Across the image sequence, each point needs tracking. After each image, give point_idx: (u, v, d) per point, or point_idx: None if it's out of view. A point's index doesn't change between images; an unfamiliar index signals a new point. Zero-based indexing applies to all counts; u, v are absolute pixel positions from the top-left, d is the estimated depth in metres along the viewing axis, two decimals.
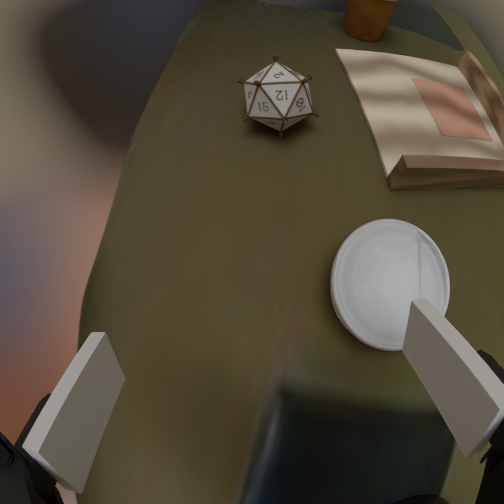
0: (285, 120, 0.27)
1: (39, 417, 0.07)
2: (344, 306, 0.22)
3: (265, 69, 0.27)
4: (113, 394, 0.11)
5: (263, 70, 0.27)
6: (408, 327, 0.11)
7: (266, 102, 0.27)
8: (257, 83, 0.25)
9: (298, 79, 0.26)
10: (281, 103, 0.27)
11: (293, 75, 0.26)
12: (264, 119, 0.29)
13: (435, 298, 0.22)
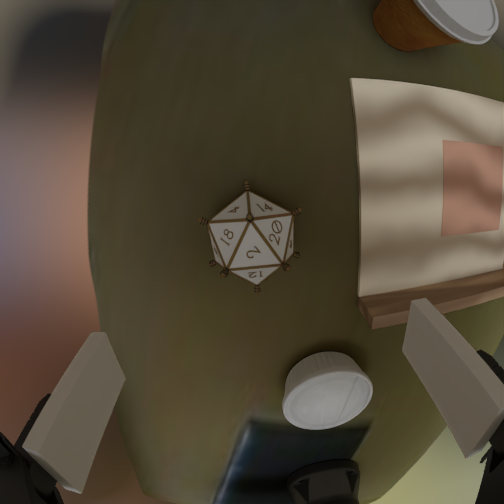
0: (258, 291, 0.26)
1: (39, 417, 0.07)
2: (289, 416, 0.32)
3: (235, 230, 0.23)
4: (113, 394, 0.11)
5: (232, 228, 0.23)
6: (408, 327, 0.11)
7: None
8: (225, 275, 0.23)
9: (278, 260, 0.23)
10: (254, 278, 0.25)
11: (272, 252, 0.23)
12: None
13: (357, 404, 0.33)
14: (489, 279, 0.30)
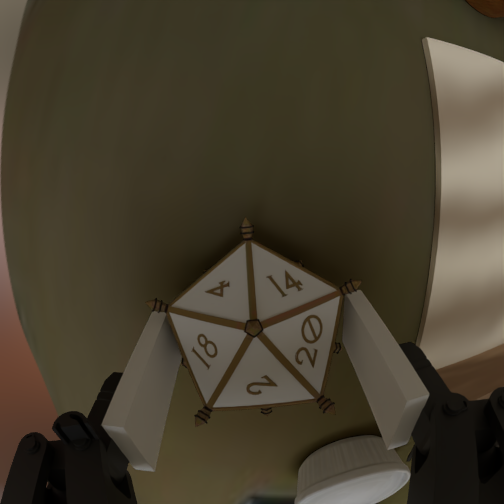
0: (267, 412, 0.14)
1: (115, 393, 0.08)
2: None
3: (221, 342, 0.10)
4: (174, 372, 0.12)
5: (215, 337, 0.10)
6: (344, 318, 0.13)
7: None
8: None
9: (311, 394, 0.10)
10: None
11: (301, 384, 0.10)
12: None
13: (387, 490, 0.20)
14: None
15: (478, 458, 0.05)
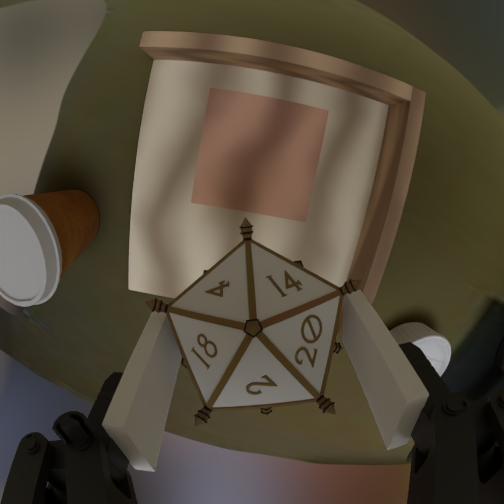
0: (267, 412, 0.14)
1: (116, 393, 0.08)
2: None
3: (221, 342, 0.10)
4: (174, 371, 0.12)
5: (215, 337, 0.10)
6: (344, 318, 0.13)
7: None
8: None
9: (311, 394, 0.10)
10: None
11: (301, 384, 0.10)
12: None
13: (438, 345, 0.30)
14: (388, 153, 0.25)
15: (478, 458, 0.05)
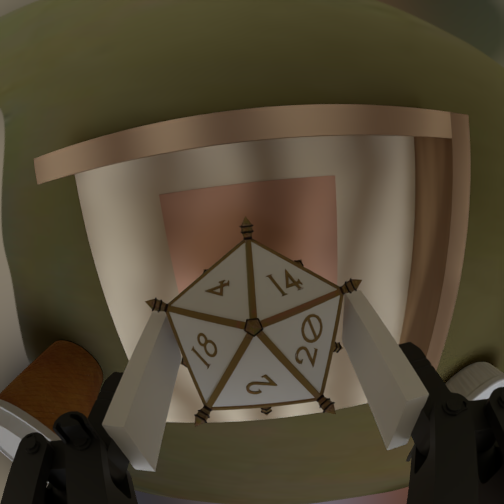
0: (267, 412, 0.13)
1: (116, 393, 0.08)
2: None
3: (221, 341, 0.10)
4: (174, 371, 0.12)
5: (214, 336, 0.10)
6: (344, 318, 0.13)
7: None
8: None
9: (311, 394, 0.10)
10: None
11: (301, 383, 0.10)
12: None
13: (500, 385, 0.21)
14: (429, 215, 0.17)
15: (478, 458, 0.05)
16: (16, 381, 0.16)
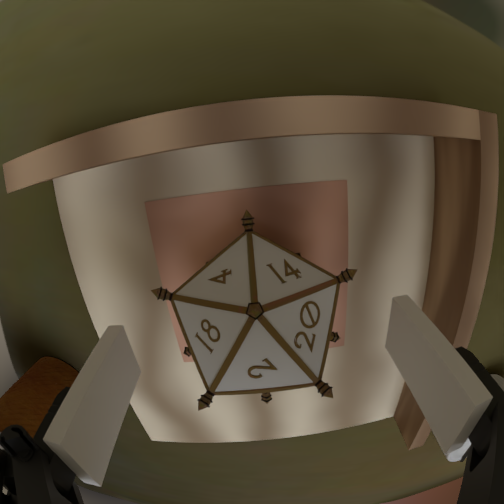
0: (267, 400, 0.14)
1: (60, 409, 0.07)
2: None
3: (224, 326, 0.10)
4: (130, 387, 0.11)
5: (217, 322, 0.11)
6: (390, 323, 0.12)
7: None
8: None
9: (309, 378, 0.11)
10: None
11: (300, 368, 0.11)
12: None
13: None
14: (451, 226, 0.14)
15: None
16: (0, 402, 0.13)
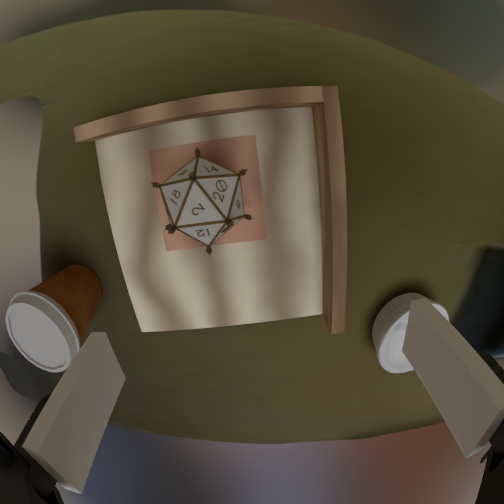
0: (209, 251, 0.27)
1: (39, 417, 0.07)
2: None
3: (181, 189, 0.23)
4: (113, 394, 0.11)
5: (179, 188, 0.23)
6: (408, 327, 0.11)
7: None
8: (172, 232, 0.24)
9: (222, 216, 0.24)
10: (203, 237, 0.26)
11: (216, 209, 0.23)
12: None
13: None
14: (321, 155, 0.27)
15: None
16: (39, 284, 0.26)
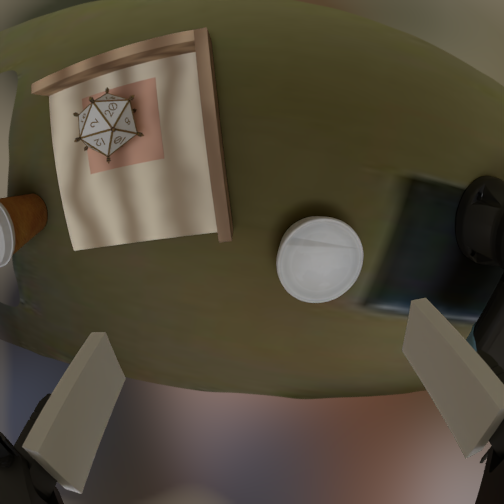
0: (108, 160, 0.30)
1: (39, 417, 0.07)
2: (331, 296, 0.38)
3: (86, 111, 0.27)
4: (113, 394, 0.11)
5: (86, 111, 0.27)
6: (408, 327, 0.11)
7: (91, 146, 0.29)
8: (77, 141, 0.27)
9: (109, 126, 0.27)
10: (101, 147, 0.29)
11: (105, 121, 0.27)
12: None
13: (334, 230, 0.35)
14: None
15: None
16: None
